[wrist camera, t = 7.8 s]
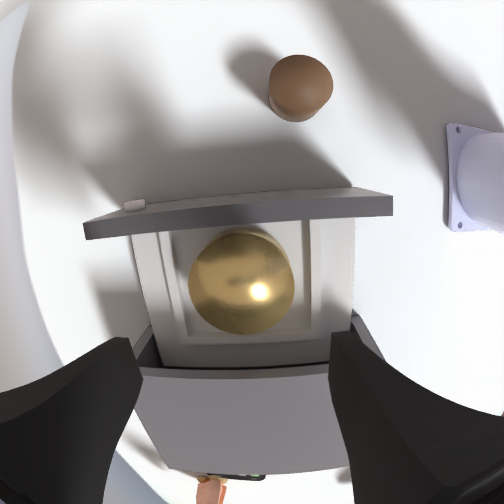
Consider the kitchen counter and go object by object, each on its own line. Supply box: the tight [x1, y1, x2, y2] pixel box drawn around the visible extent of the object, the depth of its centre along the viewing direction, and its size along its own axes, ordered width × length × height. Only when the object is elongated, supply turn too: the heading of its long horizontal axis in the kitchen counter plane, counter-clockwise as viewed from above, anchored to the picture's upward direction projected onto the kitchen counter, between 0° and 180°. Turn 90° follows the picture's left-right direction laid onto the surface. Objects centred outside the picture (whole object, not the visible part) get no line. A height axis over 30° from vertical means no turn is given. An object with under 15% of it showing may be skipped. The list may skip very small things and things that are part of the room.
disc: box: [188, 227, 295, 335], centre depth 16 cm, size 6×6×2 cm
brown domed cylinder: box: [269, 55, 333, 122], centre depth 14 cm, size 3×3×4 cm
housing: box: [132, 316, 386, 475], centre depth 19 cm, size 16×12×6 cm
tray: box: [83, 187, 393, 367], centre depth 16 cm, size 15×12×5 cm
